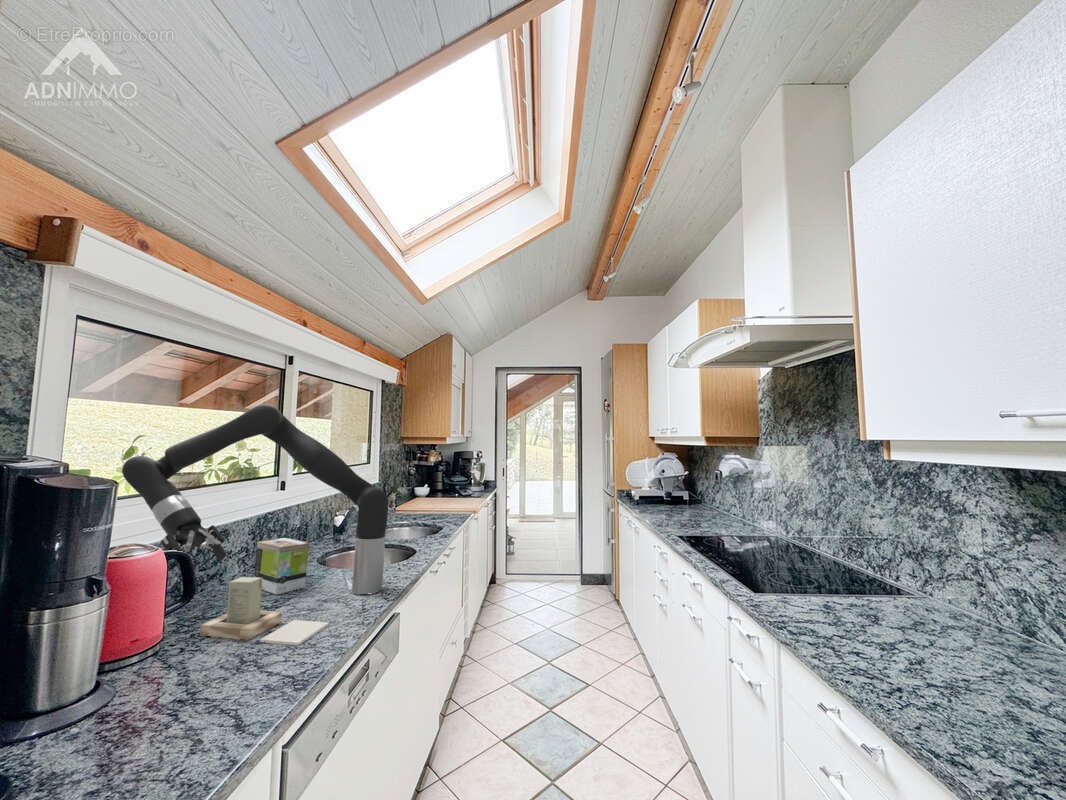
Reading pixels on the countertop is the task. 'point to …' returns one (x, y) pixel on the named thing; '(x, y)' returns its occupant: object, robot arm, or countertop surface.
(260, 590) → the skincare box
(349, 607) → the countertop surface
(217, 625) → the frame
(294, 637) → the pad
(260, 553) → the tea box
